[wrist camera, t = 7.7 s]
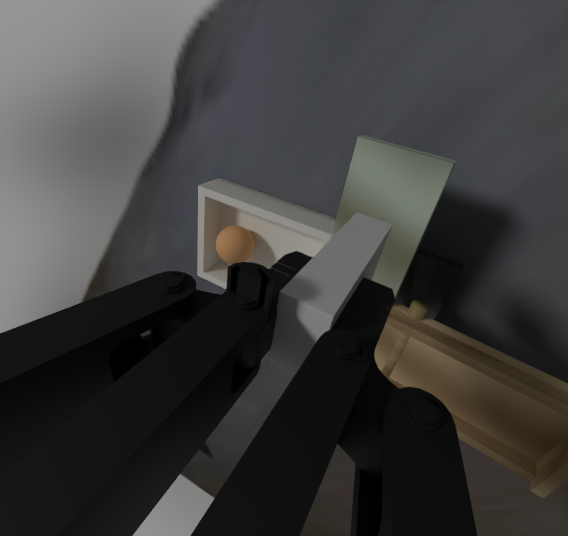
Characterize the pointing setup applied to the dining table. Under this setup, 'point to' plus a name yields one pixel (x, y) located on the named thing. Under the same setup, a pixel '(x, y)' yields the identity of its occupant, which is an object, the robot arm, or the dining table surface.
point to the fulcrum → (428, 282)
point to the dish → (255, 226)
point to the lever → (444, 340)
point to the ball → (235, 244)
